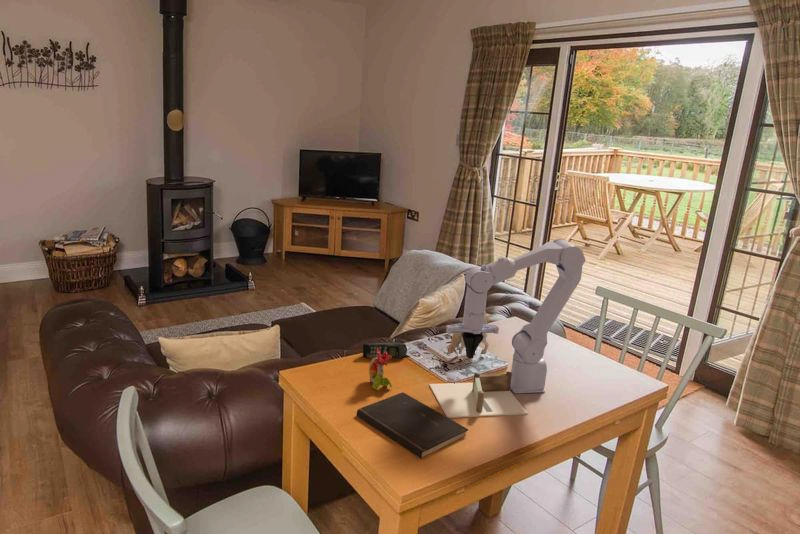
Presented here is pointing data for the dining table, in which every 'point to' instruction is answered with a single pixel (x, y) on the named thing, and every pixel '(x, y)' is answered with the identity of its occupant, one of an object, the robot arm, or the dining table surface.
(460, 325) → the robot arm
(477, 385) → the fence panel
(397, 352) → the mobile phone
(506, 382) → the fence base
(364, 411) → the hardcover book
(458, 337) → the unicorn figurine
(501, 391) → the card
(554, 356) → the dining table surface
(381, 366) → the bird rattle
